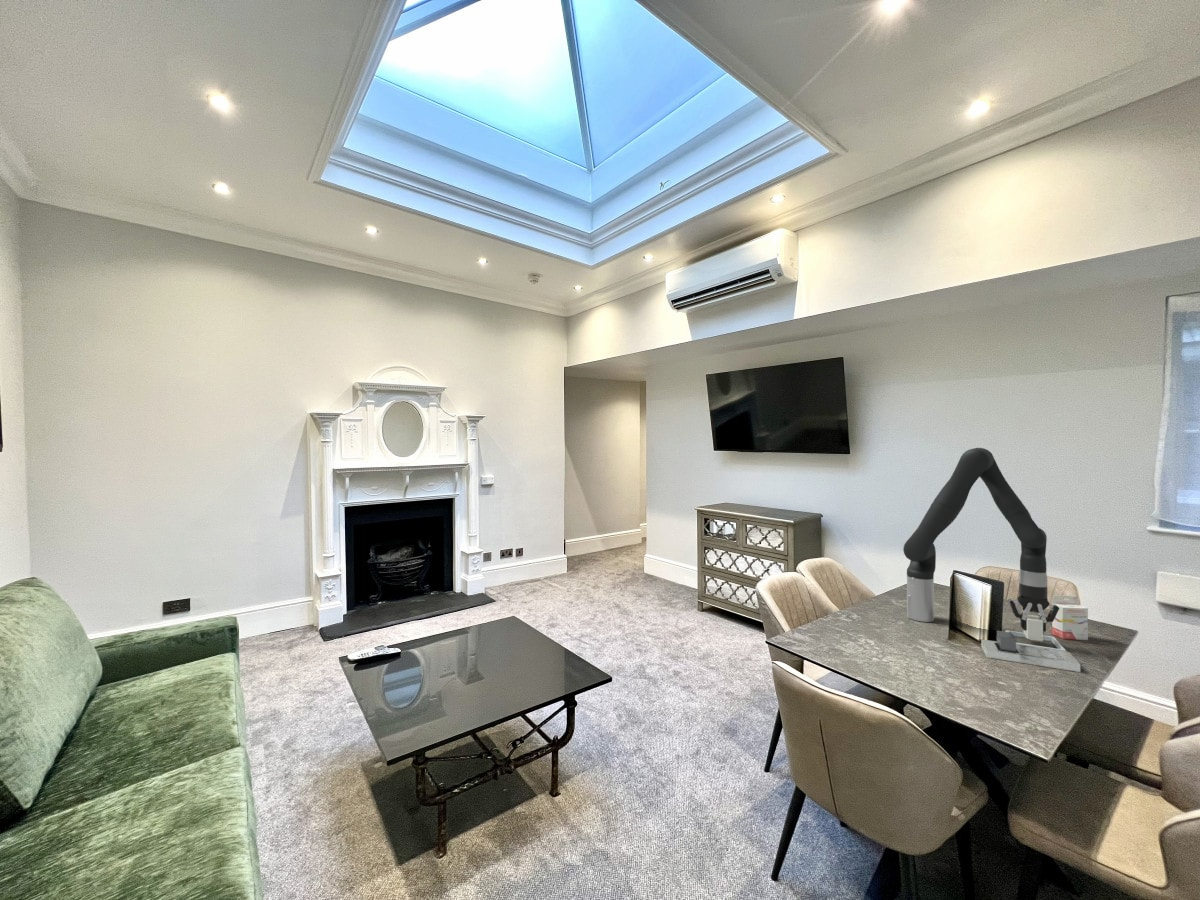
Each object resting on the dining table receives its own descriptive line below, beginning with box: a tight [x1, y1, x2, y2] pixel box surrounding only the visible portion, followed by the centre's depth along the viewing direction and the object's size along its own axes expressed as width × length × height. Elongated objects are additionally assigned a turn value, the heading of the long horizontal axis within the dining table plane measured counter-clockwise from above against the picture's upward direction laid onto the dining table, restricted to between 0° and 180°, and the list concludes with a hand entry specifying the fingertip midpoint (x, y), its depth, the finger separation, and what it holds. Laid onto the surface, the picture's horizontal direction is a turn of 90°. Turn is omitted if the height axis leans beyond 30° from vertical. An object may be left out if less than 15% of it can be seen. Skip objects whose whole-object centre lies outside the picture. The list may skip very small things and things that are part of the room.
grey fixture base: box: [980, 630, 1081, 673], centre depth 160 cm, size 23×10×7 cm, turn 60°
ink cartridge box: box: [1051, 595, 1089, 641], centre depth 176 cm, size 9×5×15 cm, turn 84°
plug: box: [1023, 614, 1044, 642], centre depth 171 cm, size 4×6×7 cm, turn 150°
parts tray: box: [1004, 629, 1067, 652], centre depth 171 cm, size 14×14×2 cm
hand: (1033, 630), depth 171 cm, fingers closed on plug, 4 cm apart
